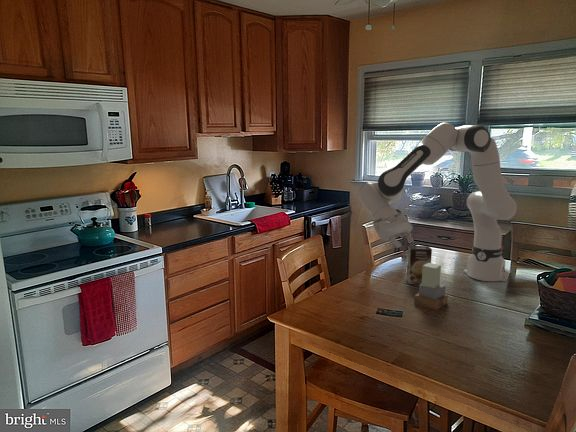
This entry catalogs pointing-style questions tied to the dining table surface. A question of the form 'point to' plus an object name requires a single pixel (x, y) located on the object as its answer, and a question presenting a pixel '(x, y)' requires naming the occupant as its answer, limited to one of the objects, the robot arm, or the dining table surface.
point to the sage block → (431, 275)
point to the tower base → (430, 301)
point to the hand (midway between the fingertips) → (406, 244)
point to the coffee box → (417, 262)
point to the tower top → (432, 291)
